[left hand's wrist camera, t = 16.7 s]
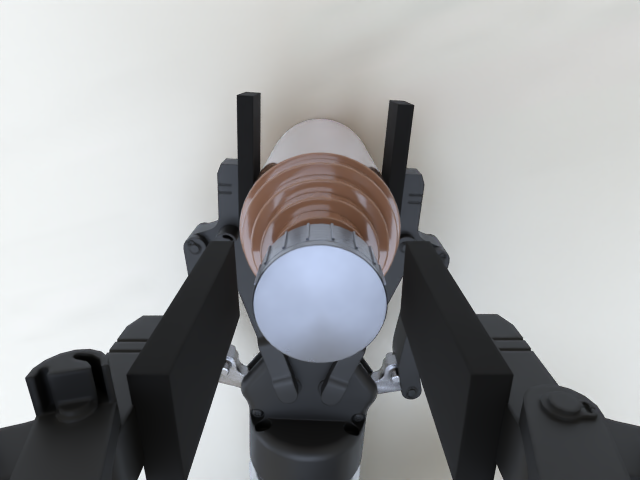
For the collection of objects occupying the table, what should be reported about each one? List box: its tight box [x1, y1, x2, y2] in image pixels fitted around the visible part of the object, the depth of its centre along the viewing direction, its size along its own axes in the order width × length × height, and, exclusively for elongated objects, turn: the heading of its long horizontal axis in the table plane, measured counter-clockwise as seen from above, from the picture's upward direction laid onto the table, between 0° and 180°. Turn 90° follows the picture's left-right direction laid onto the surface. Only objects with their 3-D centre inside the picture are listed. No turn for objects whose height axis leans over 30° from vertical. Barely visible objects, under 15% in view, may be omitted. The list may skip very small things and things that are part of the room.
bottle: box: [239, 119, 401, 276], centre depth 22 cm, size 7×7×18 cm
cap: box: [252, 223, 388, 363], centre depth 14 cm, size 4×4×2 cm
